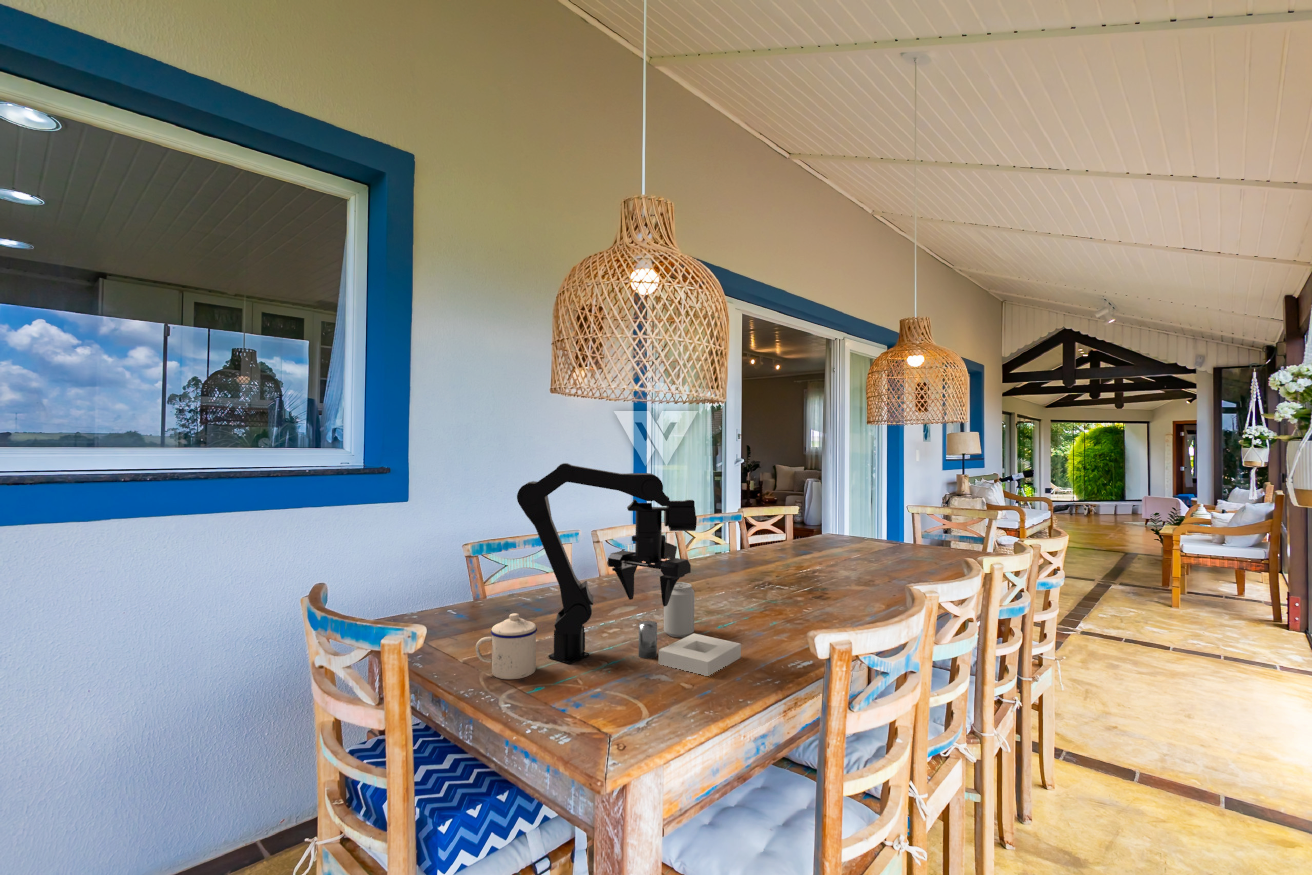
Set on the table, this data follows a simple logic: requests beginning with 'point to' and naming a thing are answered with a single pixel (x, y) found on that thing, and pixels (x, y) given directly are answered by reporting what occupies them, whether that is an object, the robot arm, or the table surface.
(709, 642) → the block
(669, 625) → the can
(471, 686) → the table surface
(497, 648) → the teacup with lid
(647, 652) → the grey metal cylinder
